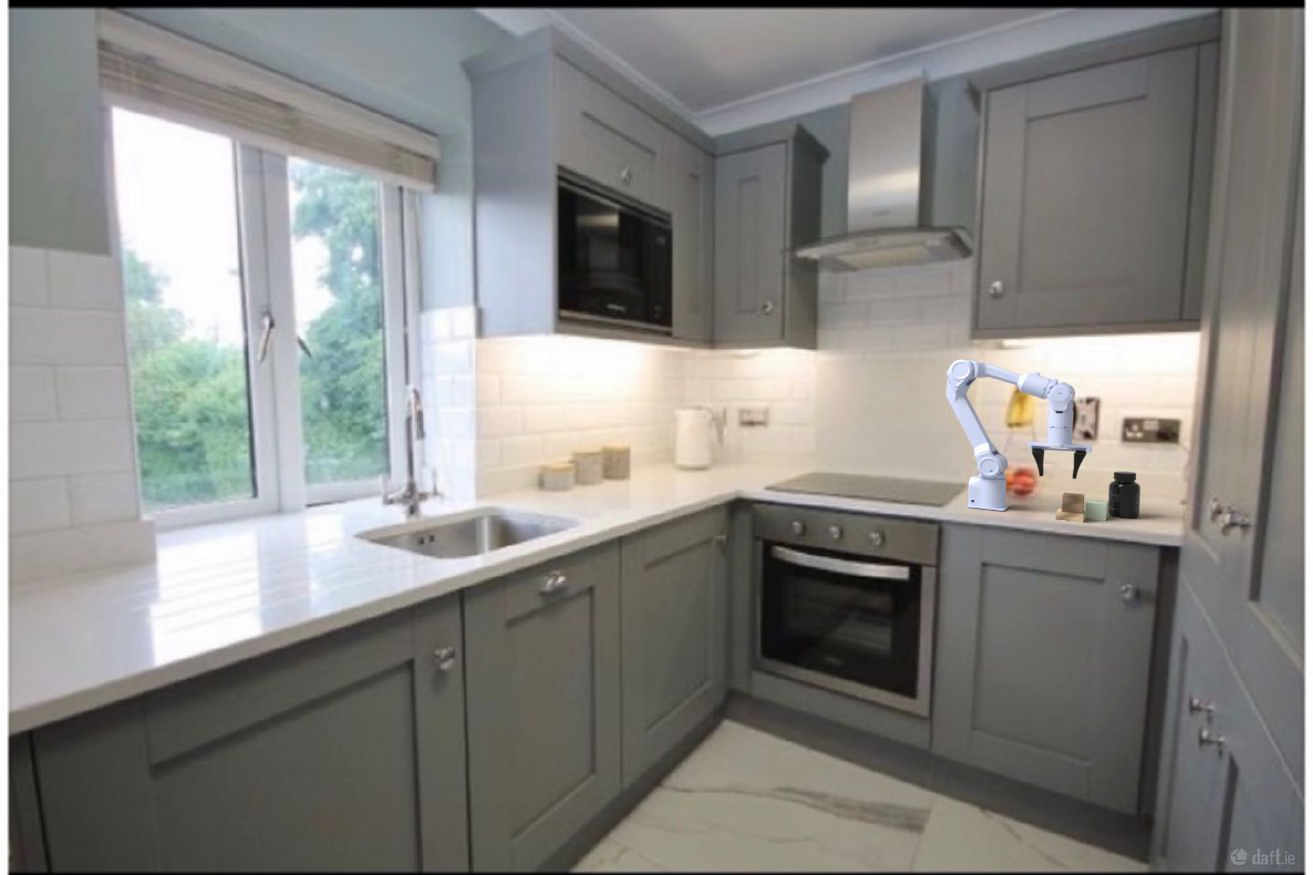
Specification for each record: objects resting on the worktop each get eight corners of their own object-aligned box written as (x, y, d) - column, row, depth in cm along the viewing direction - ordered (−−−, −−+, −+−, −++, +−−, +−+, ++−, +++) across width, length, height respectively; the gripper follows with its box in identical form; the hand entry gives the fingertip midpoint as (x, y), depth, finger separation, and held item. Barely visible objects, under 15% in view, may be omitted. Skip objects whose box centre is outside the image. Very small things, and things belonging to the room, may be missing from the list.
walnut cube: (1061, 511, 166) (1062, 494, 165) (1063, 509, 169) (1064, 492, 169) (1082, 513, 163) (1083, 496, 162) (1083, 511, 166) (1084, 494, 166)
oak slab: (1055, 521, 166) (1056, 511, 166) (1058, 517, 171) (1058, 508, 170) (1082, 524, 162) (1083, 514, 162) (1085, 520, 167) (1085, 510, 167)
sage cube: (1085, 518, 167) (1086, 502, 167) (1087, 516, 171) (1087, 499, 170) (1105, 521, 164) (1106, 504, 164) (1107, 518, 168) (1108, 501, 167)
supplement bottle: (1125, 513, 173) (1127, 470, 172) (1145, 518, 166) (1148, 474, 165) (1101, 514, 173) (1103, 470, 172) (1120, 519, 166) (1123, 474, 165)
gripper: (1026, 427, 171) (1024, 476, 173) (1090, 429, 162) (1088, 481, 163) (1031, 425, 177) (1029, 473, 178) (1093, 427, 168) (1090, 478, 169)
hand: (1057, 477), depth 171 cm, fingers open, 7 cm apart
